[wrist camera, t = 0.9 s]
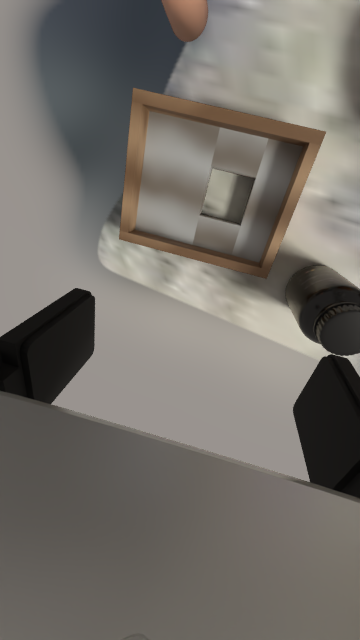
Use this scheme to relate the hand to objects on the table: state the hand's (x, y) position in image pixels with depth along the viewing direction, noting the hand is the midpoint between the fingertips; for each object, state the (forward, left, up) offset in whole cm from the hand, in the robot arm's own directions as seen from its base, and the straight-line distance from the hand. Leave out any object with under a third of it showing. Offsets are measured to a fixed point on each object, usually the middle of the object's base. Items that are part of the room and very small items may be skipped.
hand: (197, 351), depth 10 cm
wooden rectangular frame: (-5, -3, -25) cm, 26 cm away
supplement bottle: (+3, +13, -26) cm, 29 cm away
